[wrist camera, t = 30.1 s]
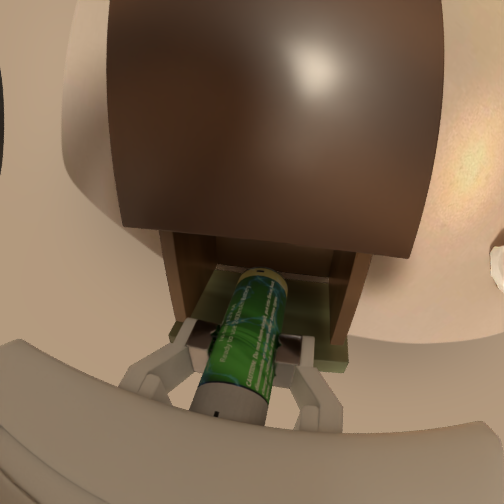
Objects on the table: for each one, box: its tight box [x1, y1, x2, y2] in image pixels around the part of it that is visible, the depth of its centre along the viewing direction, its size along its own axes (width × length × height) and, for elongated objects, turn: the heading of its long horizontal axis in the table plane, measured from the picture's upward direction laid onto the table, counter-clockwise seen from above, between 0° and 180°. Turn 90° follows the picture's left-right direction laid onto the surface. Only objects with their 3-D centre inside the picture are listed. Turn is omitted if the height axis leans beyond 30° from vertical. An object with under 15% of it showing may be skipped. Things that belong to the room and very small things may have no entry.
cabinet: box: [106, 0, 444, 259], centre depth 11 cm, size 15×13×10 cm
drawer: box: [159, 230, 373, 373], centre depth 18 cm, size 18×11×8 cm, turn 179°
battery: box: [189, 267, 288, 426], centre depth 11 cm, size 3×3×10 cm
